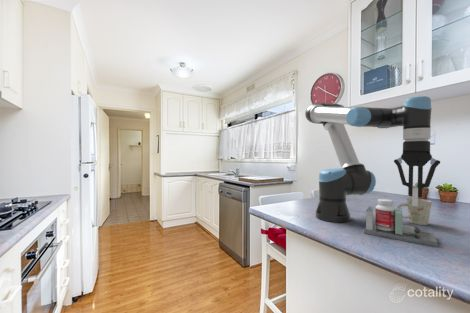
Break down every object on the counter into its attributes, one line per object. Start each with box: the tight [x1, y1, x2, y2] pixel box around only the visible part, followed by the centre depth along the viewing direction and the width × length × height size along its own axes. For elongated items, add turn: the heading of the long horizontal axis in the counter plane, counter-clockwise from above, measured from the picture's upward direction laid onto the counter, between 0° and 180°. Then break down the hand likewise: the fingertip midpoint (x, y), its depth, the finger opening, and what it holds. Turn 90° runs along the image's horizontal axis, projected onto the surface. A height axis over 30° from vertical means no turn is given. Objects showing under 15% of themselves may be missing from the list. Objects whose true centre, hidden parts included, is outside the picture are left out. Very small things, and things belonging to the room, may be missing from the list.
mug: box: [396, 197, 432, 226], centre depth 92 cm, size 8×13×10 cm, turn 78°
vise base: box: [364, 206, 438, 248], centre depth 78 cm, size 20×10×8 cm, turn 52°
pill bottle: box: [375, 198, 396, 232], centre depth 80 cm, size 6×6×11 cm
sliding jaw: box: [395, 207, 421, 235], centre depth 76 cm, size 7×9×8 cm
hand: (414, 205), depth 77 cm, fingers closed
